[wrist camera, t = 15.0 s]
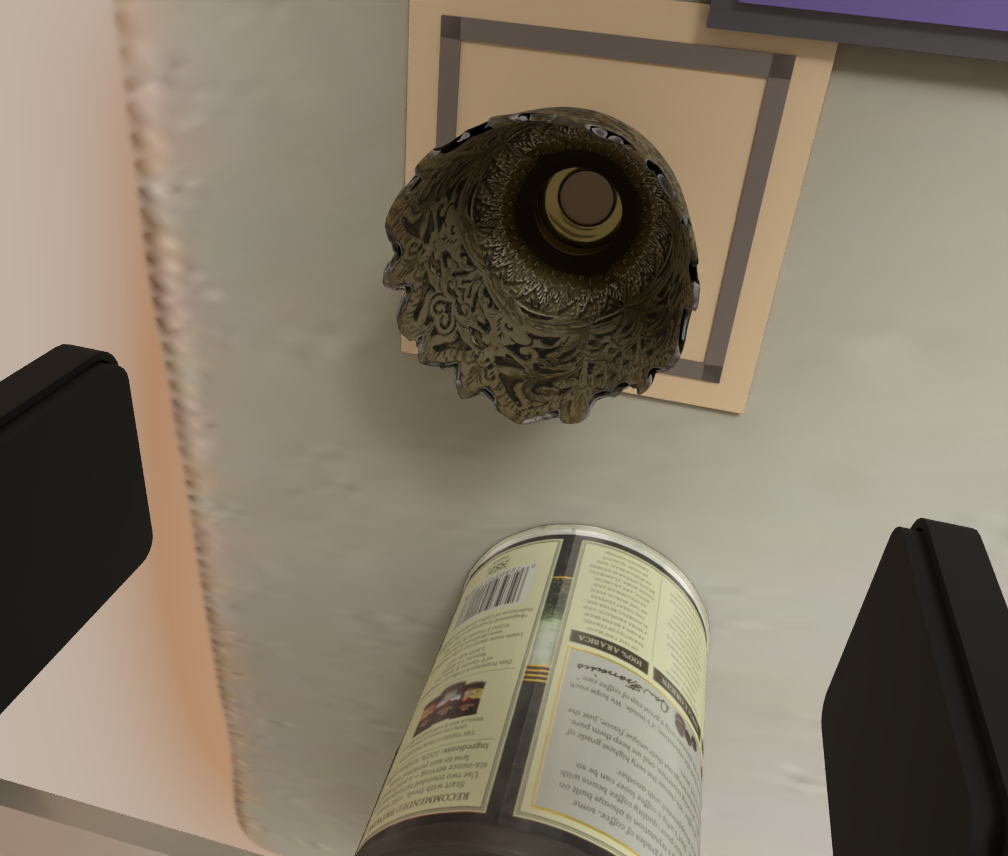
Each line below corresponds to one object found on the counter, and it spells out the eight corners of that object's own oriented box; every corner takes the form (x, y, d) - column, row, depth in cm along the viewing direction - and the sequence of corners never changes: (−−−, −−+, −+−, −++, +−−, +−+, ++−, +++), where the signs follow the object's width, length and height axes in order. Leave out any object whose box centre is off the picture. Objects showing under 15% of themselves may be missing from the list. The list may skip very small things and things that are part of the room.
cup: (533, 342, 30) (471, 463, 23) (428, 138, 27) (322, 206, 20) (748, 258, 26) (749, 367, 20) (651, 19, 24) (615, 51, 17)
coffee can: (629, 751, 39) (579, 1119, 27) (425, 640, 38) (280, 962, 26) (767, 607, 33) (782, 988, 21) (530, 475, 33) (409, 787, 21)
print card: (413, -29, 25) (409, -28, 25) (843, 18, 23) (844, 20, 23) (403, 348, 31) (399, 352, 31) (743, 409, 29) (743, 415, 29)
